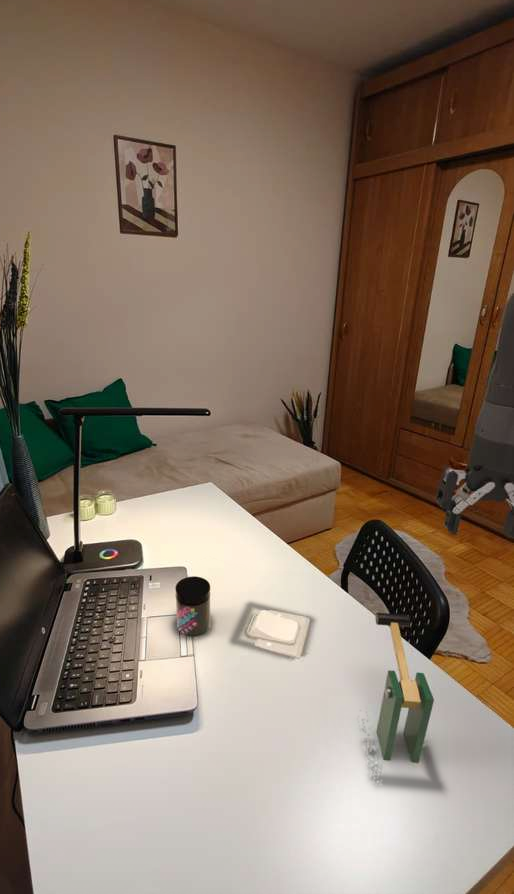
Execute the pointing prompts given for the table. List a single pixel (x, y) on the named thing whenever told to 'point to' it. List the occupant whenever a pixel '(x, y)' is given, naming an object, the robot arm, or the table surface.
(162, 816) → the table surface
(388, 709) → the bracket
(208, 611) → the supplement container
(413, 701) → the lever
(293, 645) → the light switch
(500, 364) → the robot arm
